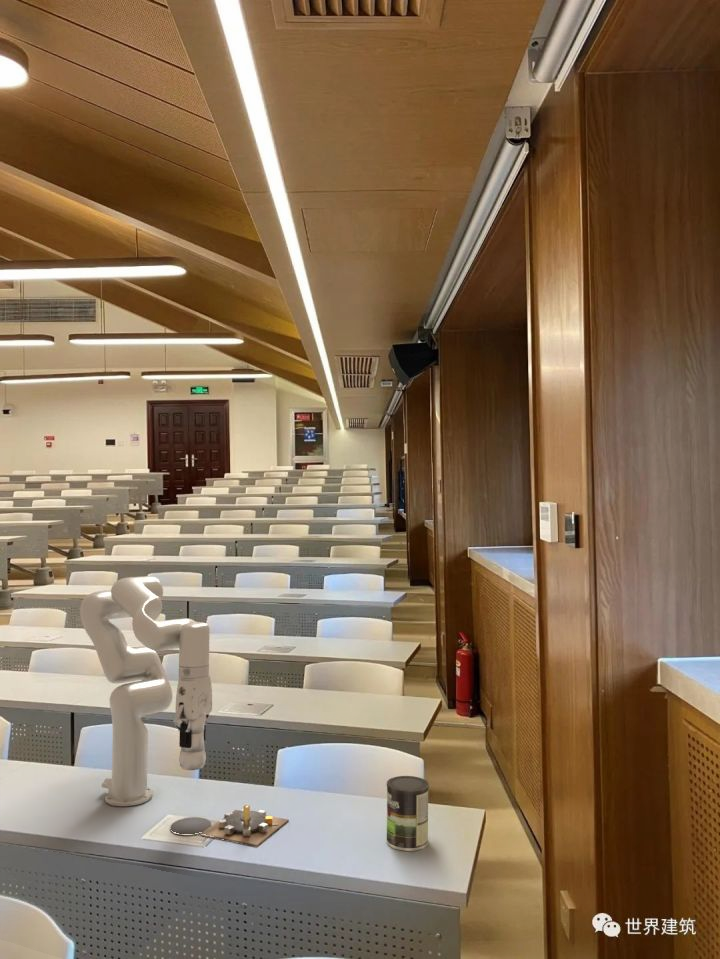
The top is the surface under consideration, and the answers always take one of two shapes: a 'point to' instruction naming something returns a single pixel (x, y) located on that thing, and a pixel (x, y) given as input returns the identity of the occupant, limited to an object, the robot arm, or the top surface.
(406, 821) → the coffee can
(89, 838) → the top surface
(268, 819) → the sprocket
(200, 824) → the pad
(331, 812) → the top surface
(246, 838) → the base plate
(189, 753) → the plastic bottle
